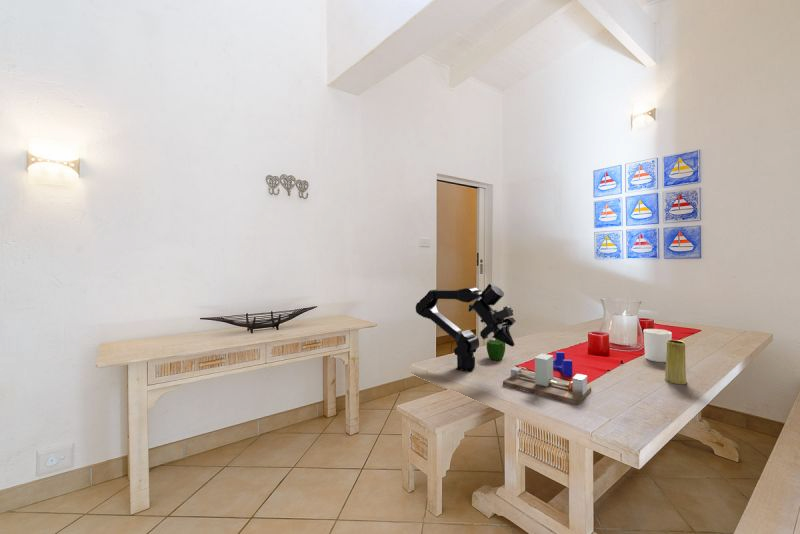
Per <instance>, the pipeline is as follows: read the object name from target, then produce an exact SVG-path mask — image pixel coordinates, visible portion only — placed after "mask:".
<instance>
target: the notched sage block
mask: <svg viewBox="0 0 800 534" xmlns="http://www.w3.org/2000/svg"><path fill="white" fill-rule="evenodd" d="M553 359H554V355H553V354H545V353H540V354H538V355H536V356H535V357H534V374H535V384H538V385H542V386H548V385H549V380H552V381H553V378H554V367H553Z"/></svg>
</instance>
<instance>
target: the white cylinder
mask: <svg viewBox="0 0 800 534" xmlns="http://www.w3.org/2000/svg"><path fill="white" fill-rule="evenodd" d="M642 332H643V343H644V344H643V345H644V347H643V348H644V358H645V359H646V360H648V361H652V362H657V363H666V353H667V340H672V336H673V335H672V334H673V333H672V332H671V331H669V330H666V329H662V328H661V329H660V328H659V329H658V328H644V329H643V331H642Z"/></svg>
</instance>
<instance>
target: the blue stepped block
mask: <svg viewBox="0 0 800 534" xmlns="http://www.w3.org/2000/svg"><path fill="white" fill-rule="evenodd" d="M554 368H555V369H554ZM553 369H554V370H555V371H559V370H560V371H559V372H560V373H561V372H562V373H561V374H562V375H563V376H564V377H573V360H572V359H566V357H565V352H564V351H555V358H553ZM565 375H566V376H565ZM567 375H568V376H567Z"/></svg>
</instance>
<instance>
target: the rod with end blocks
mask: <svg viewBox="0 0 800 534" xmlns="http://www.w3.org/2000/svg"><path fill="white" fill-rule="evenodd" d="M521 371H522V368H521V367H517V366H514V367H512V368H510V376H511V378H515V379H518V378H519V377H523V378H528V379H532V380H535V377H534V376H530V375H525V374H521ZM549 384H553V385H557V386H562V387H566V388H568V390H569V391H573V393H574V394H578V395H582V396H583V395H584V394H585V392H586V391H587V386H588V375H586V374H582V373H576V374H575V375H574V376H572V379H571V380H570V381H569V384H565V383H560V382H556V381H552V380H549Z"/></svg>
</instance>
